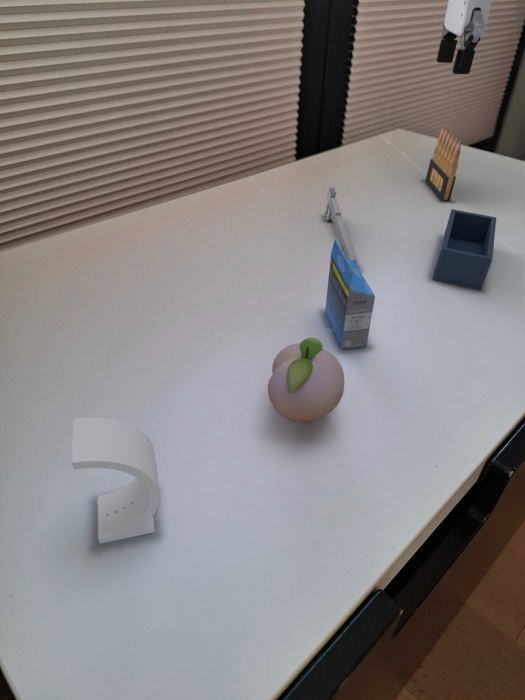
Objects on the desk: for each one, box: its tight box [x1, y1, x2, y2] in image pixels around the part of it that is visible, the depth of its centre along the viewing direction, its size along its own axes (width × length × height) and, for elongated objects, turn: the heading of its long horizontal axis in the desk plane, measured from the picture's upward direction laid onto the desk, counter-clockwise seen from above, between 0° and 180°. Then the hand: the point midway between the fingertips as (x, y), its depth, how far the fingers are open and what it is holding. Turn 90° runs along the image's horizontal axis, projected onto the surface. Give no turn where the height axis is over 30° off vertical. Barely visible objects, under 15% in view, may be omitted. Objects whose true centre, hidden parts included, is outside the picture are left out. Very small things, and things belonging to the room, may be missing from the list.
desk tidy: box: [431, 208, 497, 291], centre depth 85 cm, size 8×16×6 cm, turn 158°
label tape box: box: [324, 236, 376, 350], centre depth 68 cm, size 9×4×12 cm, turn 9°
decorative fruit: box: [267, 337, 345, 424], centre depth 56 cm, size 9×8×10 cm
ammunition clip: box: [424, 126, 462, 202], centre depth 106 cm, size 11×2×12 cm, turn 4°
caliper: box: [324, 187, 359, 268], centre depth 89 cm, size 20×1×6 cm, turn 8°
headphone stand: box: [71, 416, 161, 545], centre depth 45 cm, size 5×6×12 cm
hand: (452, 67), depth 100 cm, fingers open, 9 cm apart
